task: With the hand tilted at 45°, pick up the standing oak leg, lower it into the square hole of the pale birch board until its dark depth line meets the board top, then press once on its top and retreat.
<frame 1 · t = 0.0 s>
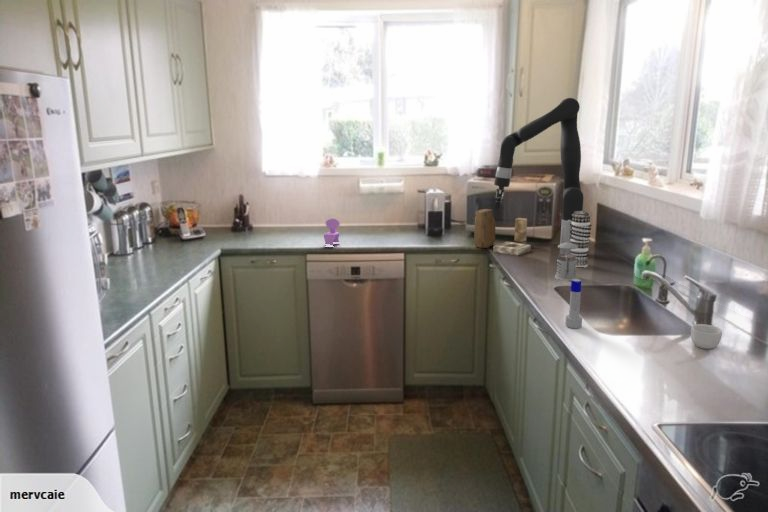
hand: (497, 208, 274), 22 cm above the worktop, tool pointing down, fingers open, 8 cm apart
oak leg: (520, 246, 288), on the worktop
decorative candle: (578, 265, 248), on the worktop
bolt: (573, 326, 176), on the worktop
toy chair: (332, 246, 300), on the worktop
block: (484, 246, 290), on the worktop
birch board: (511, 251, 278), on the worktop
french press: (566, 278, 229), on the worktop
teacup: (705, 345, 159), on the worktop
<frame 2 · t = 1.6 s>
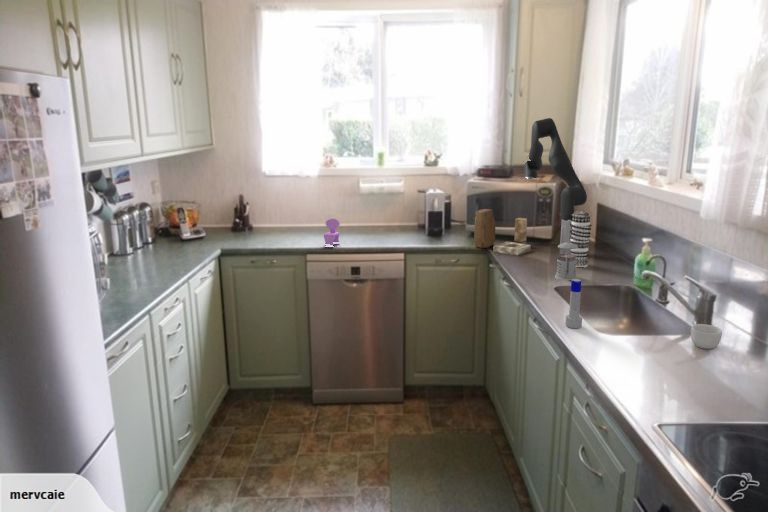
hand: (524, 210, 293), 18 cm above the worktop, tool tilted 45°, fingers open, 8 cm apart
nothing on the worktop moved.
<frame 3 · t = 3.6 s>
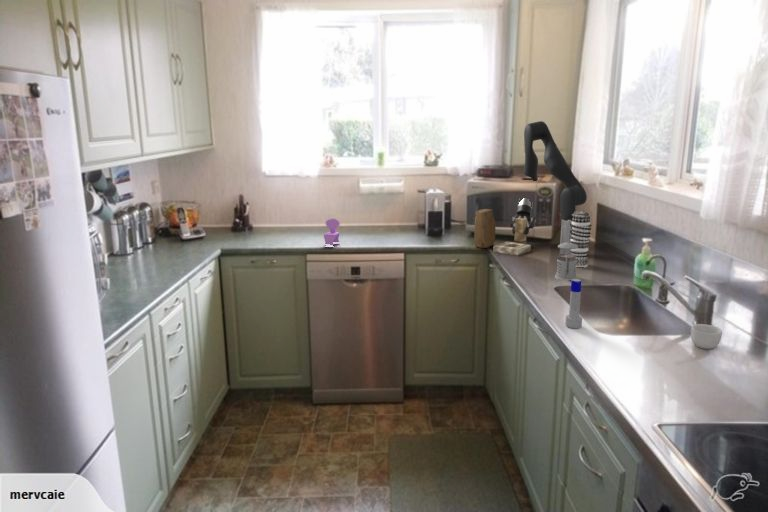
hand: (520, 233, 284), 7 cm above the worktop, tool tilted 45°, fingers closed on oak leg, 5 cm apart
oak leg: (520, 246, 288), on the worktop, touching gripper
everything else where it was.
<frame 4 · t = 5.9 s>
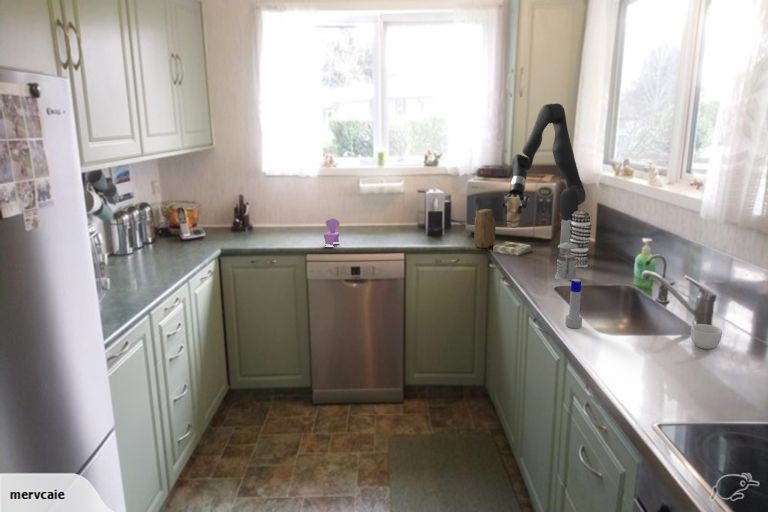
hand: (512, 213, 272), 20 cm above the worktop, tool tilted 45°, fingers closed on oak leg, 5 cm apart
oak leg: (512, 226, 275), point 13 cm above the worktop, touching gripper
everything else where it was.
when the fingers open (9 cm above the worktop, at t = 8.5 s): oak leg drops 1 cm, resting in birch board.
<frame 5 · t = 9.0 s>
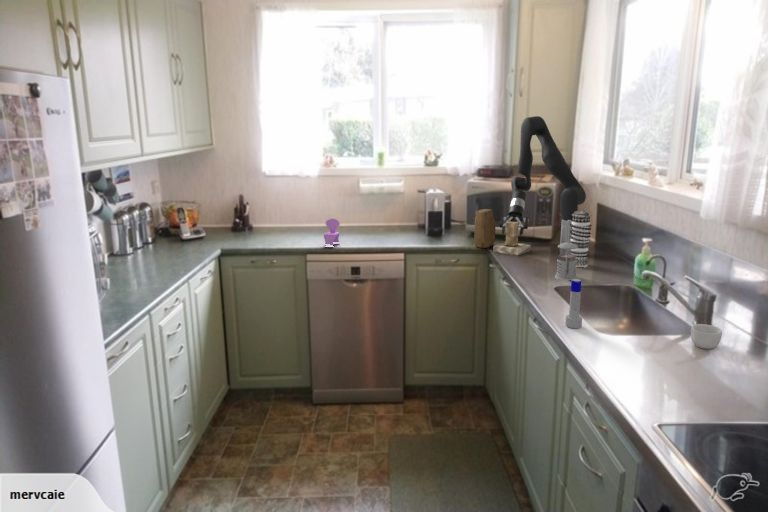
hand: (511, 234, 274), 9 cm above the worktop, tool tilted 45°, fingers open, 8 cm apart
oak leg: (511, 251, 278), resting in birch board
everything else where it was.
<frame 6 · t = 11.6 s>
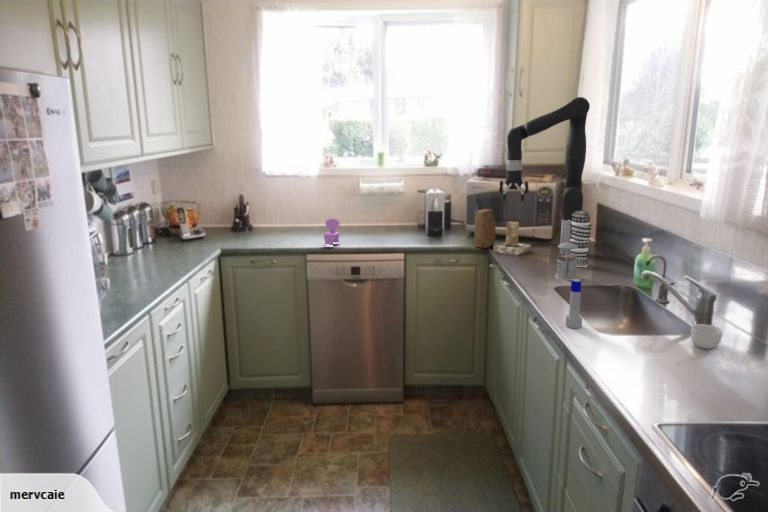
hand: (513, 201, 272), 26 cm above the worktop, tool pointing down, fingers open, 8 cm apart
nothing on the worktop moved.
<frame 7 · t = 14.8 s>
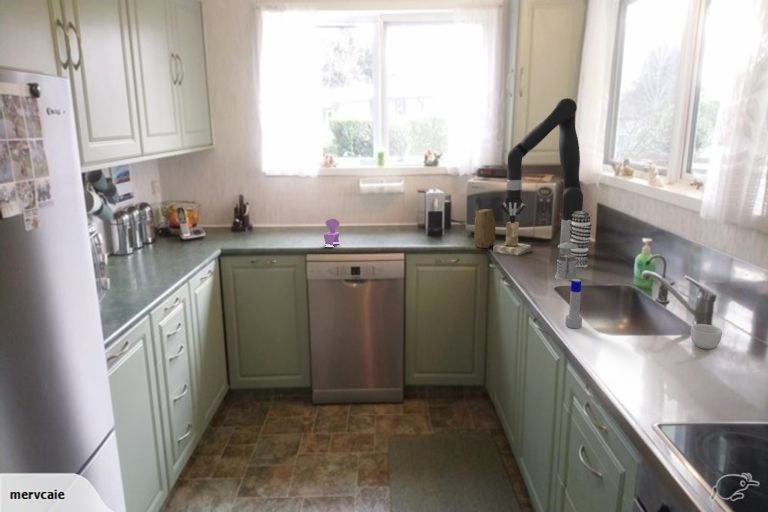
hand: (512, 222, 274), 15 cm above the worktop, tool pointing down, fingers closed
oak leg: (511, 251, 278), resting in birch board, touching gripper
everything else where it was.
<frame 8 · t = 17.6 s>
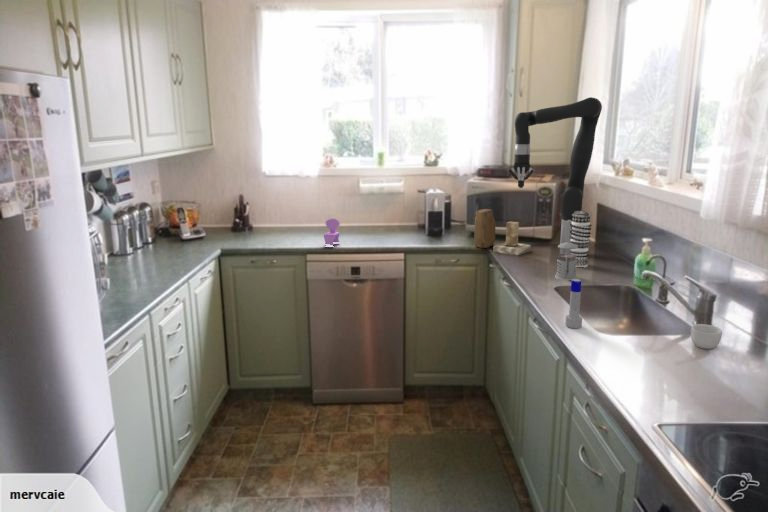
hand: (521, 187, 275), 32 cm above the worktop, tool pointing down, fingers closed
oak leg: (511, 251, 278), resting in birch board
everything else where it was.
at the end: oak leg 0.1 cm off-centre on the birch board, point 0.0 cm above the birch board's base; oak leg tilted 0° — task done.
